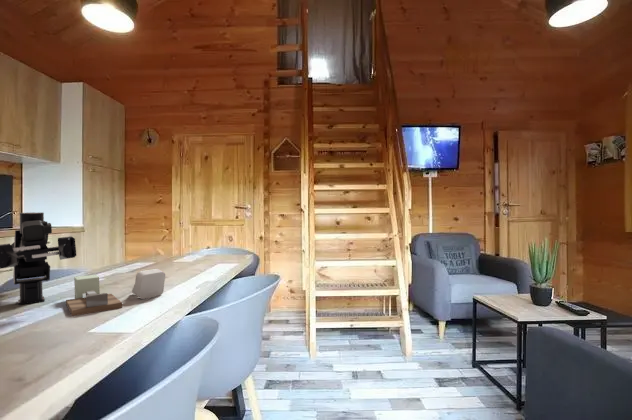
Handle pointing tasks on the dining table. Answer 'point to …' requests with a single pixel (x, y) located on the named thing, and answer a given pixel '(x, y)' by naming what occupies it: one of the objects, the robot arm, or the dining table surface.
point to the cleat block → (86, 285)
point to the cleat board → (93, 303)
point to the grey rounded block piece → (149, 283)
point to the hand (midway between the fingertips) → (39, 256)
